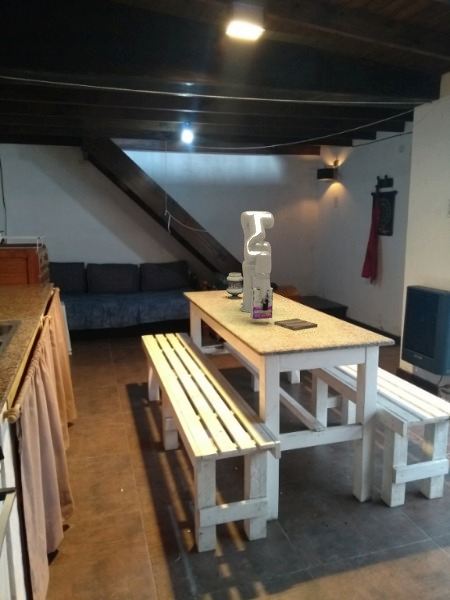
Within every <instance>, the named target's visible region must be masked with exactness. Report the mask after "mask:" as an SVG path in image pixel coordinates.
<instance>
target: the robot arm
mask: <svg viewBox="0 0 450 600" xmlns="http://www.w3.org/2000/svg"><path fill="white" fill-rule="evenodd" d="M240 225H241V227H242V230H243V234H244V235H243V236H244V239H243V240H244V244H243V245H244V246H243V255H244V257H243V258H244V260H243V262H242V265H241V266H242V275H243V276H242V277H243V281H242V282H243V283H242V288H243V293H242V302H241V303H240V305H241V306H242V307H240V311H241V312H244V313H251V288H258V289H260V298H263V302H264V303H263V311H267V310H268V303H269V301H270V300H271V299H272V297H271V295H270V287H271V280H270V277H271V276H270V275H271V271H272V247H271V243H270V242H268V241H265V239H266V235H267V234H266V231H265V229H272V228H273V227H274V225H275V217H274V215H273V213H272V212H269V211H268V210H267V211H263V210H260V211H259V210H247V211H246V210H245V211H243V212H242V213H241V215H240ZM266 296H267V297H266ZM265 299H266V301H265Z"/></svg>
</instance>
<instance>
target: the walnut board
mask: <svg viewBox="0 0 450 600" xmlns="http://www.w3.org/2000/svg"><path fill="white" fill-rule="evenodd" d="M273 325H275V326H278V327H281V328H285V329H288V330H291V331H301V330H307V329H313V328H318V323H315V322H311V321H307V320H304V319H300V318H297V317H295V318H290V319H283V320H275V321H274V323H273Z"/></svg>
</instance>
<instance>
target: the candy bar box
mask: <svg viewBox="0 0 450 600" xmlns="http://www.w3.org/2000/svg"><path fill="white" fill-rule="evenodd" d="M270 295H271V297H272V299H271V300H270V301H269V303H268V310H267V311H263V303H264V302H263V298H260V289H258V288H251V312H250V318H251V319H253V320H260V319H262V320H263V319H265V320H266V319H273V306H274V305H273V303H274V302H273V300H274V298H273V297H274V288H273V287H271V286H270ZM266 297H267V296H266ZM265 301H266V299H265Z"/></svg>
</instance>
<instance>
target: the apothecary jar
mask: <svg viewBox="0 0 450 600" xmlns="http://www.w3.org/2000/svg"><path fill="white" fill-rule="evenodd" d="M226 281H227V282H228V284H227V285H228V287H227V288H226V292H227V294H228V295H230V296H228V297H227V299H229V300H235V301H236V300H243V297H241V296H240V295H241V294H242V295H243V283H242V282H243V276H242V273H241V272H230V273H228V276H226Z"/></svg>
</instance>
